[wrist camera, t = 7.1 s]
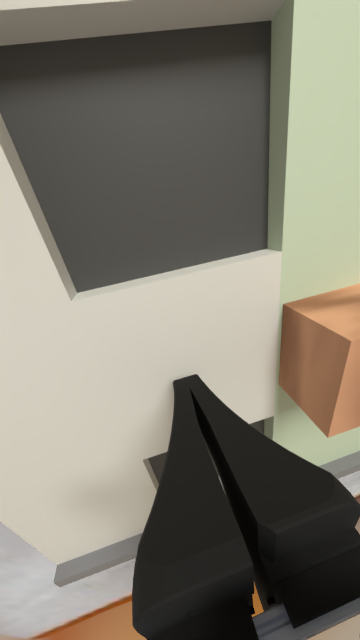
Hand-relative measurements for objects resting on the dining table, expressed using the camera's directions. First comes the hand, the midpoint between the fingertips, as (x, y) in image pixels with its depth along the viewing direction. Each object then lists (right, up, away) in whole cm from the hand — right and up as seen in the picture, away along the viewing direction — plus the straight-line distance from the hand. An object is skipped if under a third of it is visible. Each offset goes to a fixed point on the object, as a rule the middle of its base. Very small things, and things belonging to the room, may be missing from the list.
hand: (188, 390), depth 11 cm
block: (+9, +3, +2) cm, 9 cm away
